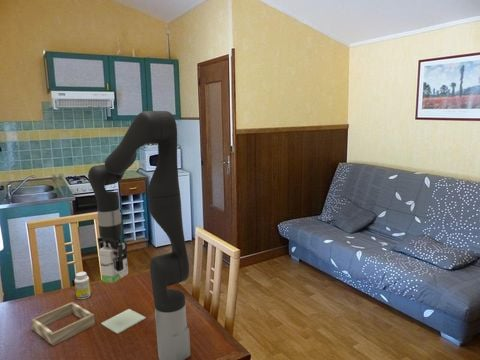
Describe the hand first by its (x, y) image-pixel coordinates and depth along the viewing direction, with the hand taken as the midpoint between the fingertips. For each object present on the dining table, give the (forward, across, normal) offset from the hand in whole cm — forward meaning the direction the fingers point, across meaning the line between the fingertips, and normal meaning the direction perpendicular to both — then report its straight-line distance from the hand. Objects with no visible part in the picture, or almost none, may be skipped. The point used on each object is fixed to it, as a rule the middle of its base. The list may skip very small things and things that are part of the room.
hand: (114, 268), depth 133 cm
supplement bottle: (+21, +29, -3) cm, 36 cm away
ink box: (+4, 0, 0) cm, 4 cm away
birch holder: (+21, +14, +13) cm, 29 cm away
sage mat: (+21, 0, -1) cm, 21 cm away
